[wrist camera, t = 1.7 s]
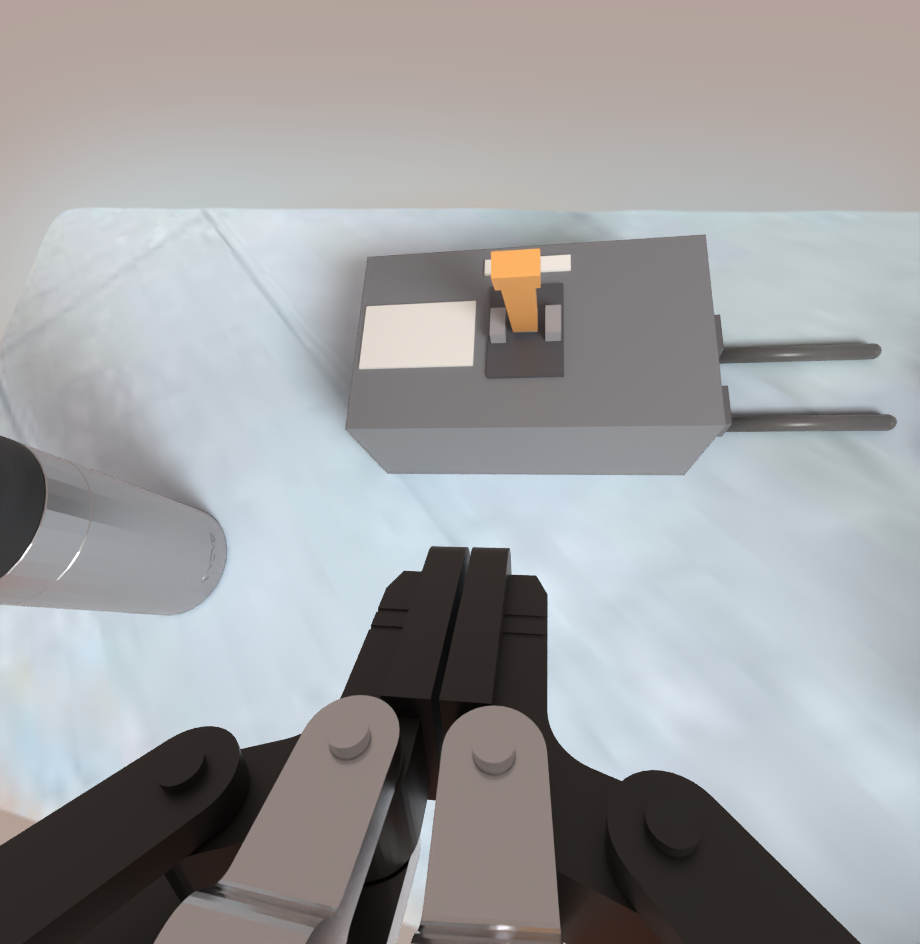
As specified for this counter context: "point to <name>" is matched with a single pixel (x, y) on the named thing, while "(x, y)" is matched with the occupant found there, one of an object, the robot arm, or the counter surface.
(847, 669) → the counter surface
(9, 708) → the counter surface
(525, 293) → the breaker lever
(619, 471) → the box
